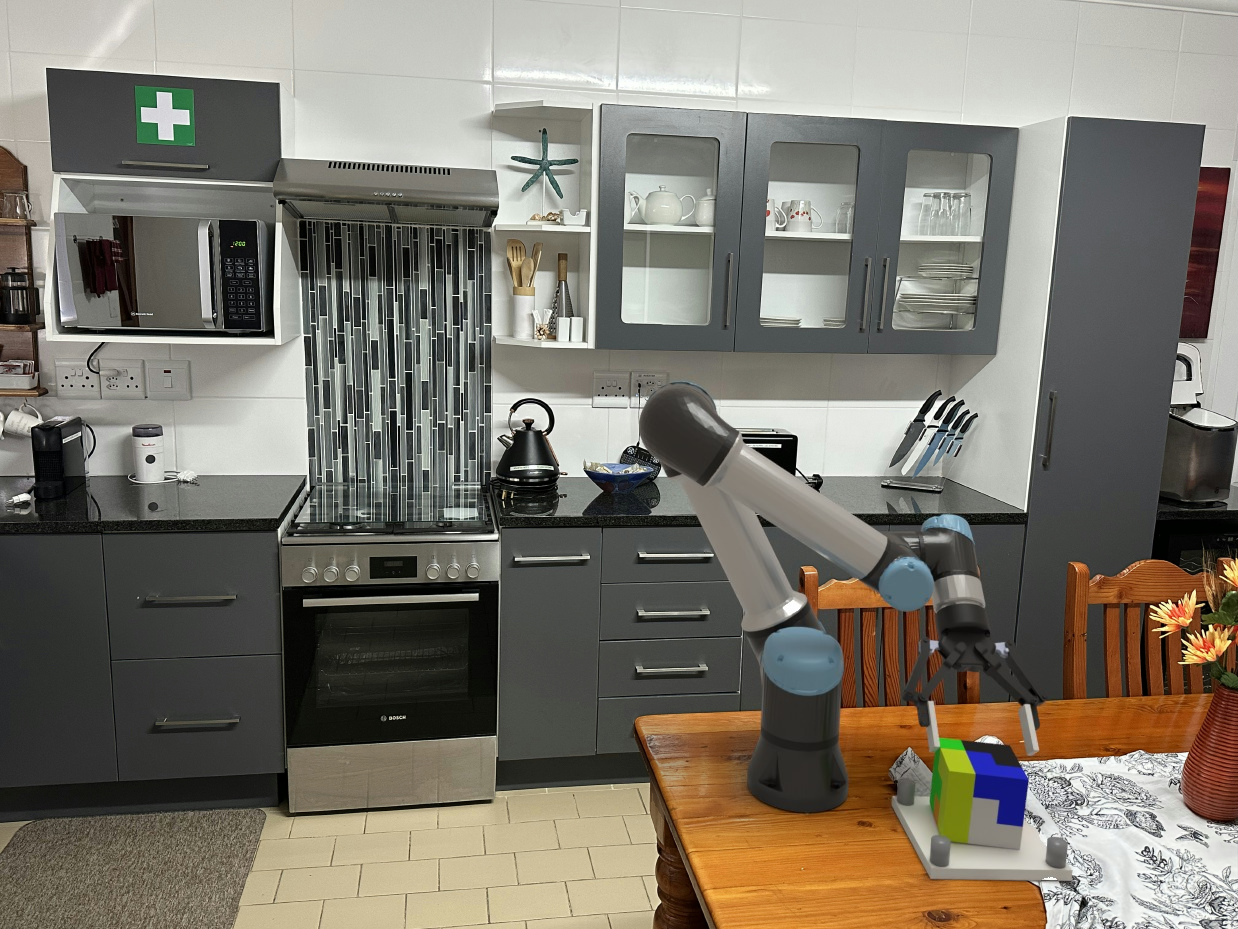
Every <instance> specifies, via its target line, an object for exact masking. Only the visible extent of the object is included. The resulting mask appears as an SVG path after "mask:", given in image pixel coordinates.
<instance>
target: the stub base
mask: <svg viewBox="0 0 1238 929" xmlns="http://www.w3.org/2000/svg"><path fill="white" fill-rule="evenodd" d="M897 780H898V781H897V792H896V793H897V794H896V795H892V797H891V807H892V809H893V810H894V813H895V815H896V817H897V819H898V820H899V822H900V824H901V827H903V830H904V832H905V833H906V835H907V837H908V838H909V839H908V840H910V843H911V845H912V847H913V848H914V850H915V852H916V854H917V856H918V858H919V860H920V861H921V864H922V865H923V867H924V869H925V871H926V872H927V875H928V876H929V878H930V879H931V880H969V881H971V880H973V881H974V880H975V881H976V880H978V881H982V880H986V881H990V880H991V881H1039V882H1040V881H1041V880H1042V879H1044V878H1048V877H1049V878H1050V877H1053V878H1056V879H1057V880H1058V882H1059V881H1060V882H1063V881H1064V882H1072V879H1073V869H1072V867H1070V865H1069V864H1068V863H1067V856H1068V846H1069V843H1068V842H1067V840H1065V839H1064V838H1061V837H1058V836H1049V837H1047V847H1046V845H1044V843H1043V842H1042V841H1041V840H1040V837H1039V832H1038V829H1036V828H1035V827H1032V826H1031V825H1030V824H1028V823H1027V822H1026V821H1025V820H1024V822H1023V830H1022V838H1021V846H1020V850H1016V849H1008V848H1000V847H992V846H984V845H976V844H968V843H960V842H951V841H950V839H948V838H947V837H945V836H941V835H940V834H939V830H938V827H937V824H936V821H935V818H934V815H933V812H932V809H931V806H930V802H929V801H930V796H922V795H921V796H918V795H917V796H916V795H915V794H916V782H915V781H914V780H913V779H910V778H907V777H905V778H904V777H902V778H899V779H897Z"/></svg>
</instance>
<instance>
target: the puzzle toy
mask: <svg viewBox="0 0 1238 929" xmlns="http://www.w3.org/2000/svg"><path fill="white" fill-rule="evenodd" d="M939 742H940V747H939V749H938V750H937V751H936V752H934V757H933V766H932V774H931V775H932V777H931V785H930V794H929V797H930V801H929V802H930V806H931V809H932V812H933V815H934V818H935V821H936V824H937V827H938V830H939V834H940V835H941V836H945V837H947V838H948V839H950V841H951V842H960V843H968V844H976V845H984V846H992V847H1000V848H1008V849H1016V850H1020V846H1021V838H1022V830H1023V822H1024V814H1025V811H1026V806H1027V799H1028V798H1027V796H1028V789H1029V781H1030V780H1029V778H1028V776H1027V774H1026V772H1025V770H1024V768H1023V766H1022V765H1021V763H1020V761H1019V759H1018V757H1017V755H1016V754H1015V752H1014V750H1013V748H1012V746H1011V745H1009V744H1001V743H991V742H982V741H973V740H965V739H964V740H963V739H956V738H948V737H947V738H945V737H939Z"/></svg>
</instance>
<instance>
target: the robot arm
mask: <svg viewBox="0 0 1238 929" xmlns="http://www.w3.org/2000/svg"><path fill="white" fill-rule="evenodd" d="M644 404H645V405H644V406H643V408H642V410H641V412H640V415H639V419H638V431H639V437H640V438H641V441H642V443H643V446H644V448H645V449H646V451H647V452H649V454H650V455H651V456H652V457H653V458H654V459H656V460H657V461H658V462H659V464H660V465H661V467H662V469H663V471H664V474H665V476H666V478H667V479H668V480H671V481H673V482H677V483H679V484H681V487H682V488H683V490H684V492H685V494H686V496H687V498H688V500H689V503H690V504H691V507H692V508H693V511H694V513H695V515H696V517H697V519H698V521H699V523H700V525H701V527H702V529H703V531H704V532H705V535H706V536H707V539H708V541H709V543H710V546H711V547H712V549H713V551H714V553H715V555H716V557H717V559H718V561H719V563H720V565H721V567H722V569H723V571H724V573H725V576H726V577H727V579H728V581H729V583H730V586H731V588H732V589H733V592H734V594H735V595H736V598H737V600H738V601H739V603H740V606H741V607H742V610H743V612H744V615H743V618H742V620H741V624H740V626H741V629H742V631H743V633H744V634H745V637H746V639H747V640H748V642H749V645H750V647H751V649H752V651H753V653H754V656H755V657H756V660H757V661H758V664H759V673H760V679H761V680H760V681H761V706H760V707H761V708H760V710H761V711H760V713H761V714H760V731H759V732H760V734H759V738H758V740H757V743H756V745H755V748H754V750H753V753H752V755H751V758H750V761H749V763H748V765H747V772H746V774H747V776H746V785H747V788H748V790H749V791H750V793H751V795H753V796H755V798H757V800H760V801H761V802H763V803H765V804H767V805H769V806H772V807H774V808H777V809H781V810H786V811H789V812H790V811H791V812H797V813H818V812H825V811H828V810H832V809H835V808H837V807H838V806H840V805H842V804H843V803H844V802H845V801H846V799H847V798H848V796H849V775H848V771H847V768H846V767H847V766H846V763H845V761H844V757H843V754H842V751H841V750H842V749H841V748H840V743H839V742H840V741H839V740H840V739H839V738H840V726H841V724H840V723H841V722H840V720H841V706H842V705H841V702H842V687H843V675H844V670H845V663H844V662H845V661H844V656H843V655H844V654H843V649H842V646H841V645H840V643H839V642H838V641H837V640H836V639H835V638H834V637H833V636H832V635H830V634H827V631H826V629H825V628H824V626H823V624H822V622H821V621H820V620H819V619H818V618H817V616H816V614H815V612H814V609H813V608H812V605H811V604H810V602H809V599H808V598H807V595H806V594H804V593H802V592H798V591H797V590H793V588H792V586H791V583H790V582H789V580H788V577H787V576H786V574H785V572H784V569H783V568H782V565H781V562H780V561H779V559H778V557H777V556H776V553H775V551H774V549H773V547H772V545H771V543H770V541H769V539H768V537H767V535H766V533H765V531H764V530H765V529H764V528H763V527H762V524H761V523H760V520H759V518H758V516H757V515H759V516H760V517H762V518H763V519H764V520H766V521H768V522H769V523H771V524H773V525H774V526H775V527H777V528H778V529H781V530H782V531H783V532H784V533H786V534H788V535H790V537H792V538H794V539H796V540H797V541H799V542H800V543H802V544H804V545H805V546H807V547H808V548H809V549H811V550H813V551H814V552H816V553H817V554H819V555H820V556H822V557H824V558H825V559H827V560H828V561H829V562H831V563H832V564H834V565H836V566H837V567H839V568H840V569H842V570H843V571H845V573H847V574H849V575H850V576H851V578H853V579H856V580H858V581H860V582H861V583H862V584H864V585H865V586H867V587H868V588H870V589H871V590H873V591H874V592H876V593H878V594H879V596H880V597H881V599H882V600H883V601H884V602H885V603H886V604H888V605H889V607H892V608H893V609H896V610H898V611H901V612H913V611H917V610H919V609H921V608H923V607H924V606H925V605H927V603H928V602H930V599H931V600H932V606H933V611H934V613H935V614H934V621H935V626H936V627H935V628H936V634H937V638H938V640H931V639H930V638H929V637H928V636H923V637H921V639H920V641H919V642H918V643H917V657H916V660H915V663H914V665H913V666H912V667H913V668H912V670H911V673H910V675H909V677H908V680H907V683H906V685H905V687H904V689H903V693H902V695H901V699H902V700H903V701H905V702H910V703H913V706H914V707H915V708H916V712H917V713H916V714H917V718H918V719H917V720H918V724H919V726H920V727H921V728H925V729H926V736H927V743H928V750H929V753H935V752H936V751H937V750H938V749H939V747H940V742H939V738H940V737H939V728H938V723H937V717H936V716H937V715H936V709H935V703H934V702H935V701H934V700H928V699H929V697H930V696H931V695H932V694H933V692H934V691H935V690H936V688H937V686H938V685H939V684H940V683H941V682H942V680H943V679H944V678H945V676H946V675H947V674H948V672H949V671H950V670H951V668H952V669H954V670H955V671H957V672H958V673H959V672H960V673H961V672H962V673H964V672H971V673H979V672H981V671H982V672H983V673H984V674H985V675H986V676H988V677H991V678H992V680H994V682H996V683H997V684H998V685H999V686H1000V687H1001V688H1002V689H1003V690H1004V691H1005V692H1006V693H1007V694H1008V695H1009V696H1011V698H1013V700H1015V701H1016V703H1018V704H1019V705H1020V707H1019V709H1018V710H1017V712H1018V717H1019V723H1020V728H1021V732H1022V736H1023V737H1022V738H1023V742H1024V743H1023V744H1024V748H1025V753H1026V756H1031V757H1033V755H1035V754H1036V753H1038V752H1039V751H1040V748H1039V743H1038V737H1037V733H1036V732H1037V731H1038V730H1039V729H1040V727H1041V722H1040V717H1039V713H1038V707H1040V706H1042V705H1043V704H1045V703H1046V702H1047V700H1049V694H1048V692H1047V691H1046V690H1045V688H1043V686H1042V685H1041V683H1040V682H1039V681H1038V679H1037V678H1036V676H1035V675H1034V674H1033V672H1032V671H1031V669H1030V668H1029V667H1028V665H1027V664H1026V662H1025V661H1024V660H1023V658H1022V657H1021V655H1019V653H1018V650H1017V647H1016V643H1015V640H1014V639H1013V640H1012V638H1011V639H1007V640H1006V641H1005V642H1004V641H1003V642H995V641H994V640H993V639H992V637H991V636H992V635H991V627H990V623H989V619H988V617H989V616H988V613H987V610H986V601H985V597H984V592H983V585H982V581H981V577H980V573H979V567H978V558H977V554H976V544H975V541H974V538H973V534H972V530H971V527H970V524H969V523H968V521H967V519H965V518H963V517H961V516H959V515H956V514H946V513H945V514H940V515H939V516H932V517H930V518H928V519H926V520H925V521H924V522H923V523H922V525H921V530H918V531H917V530H916V531H879V530H876V529H875V528H874V527H872V526H871V525H869V524H868V523H866V522H865V521H863V520H862V519H860V518H859V517H857V516H855V515H853V514H852V513H851V512H850V511H848V510H846V509H845V508H843V507H842V506H840V505H838V504H837V503H835V502H834V501H833V500H831V499H830V498H828V497H826V496H825V495H824V494H822V493H820V492H819V491H817V490H816V489H815V488H813V487H811V486H810V485H808V484H807V483H805V482H804V481H802V480H801V479H800V478H798V477H796V476H795V475H793V474H791V472H789V471H787V470H786V469H784V468H783V467H781V466H779V465H778V464H777V463H775V462H774V461H772V460H771V459H769V458H767V457H766V456H764V455H763V454H761V453H760V452H759V451H756V449H754V448H752V447H751V446H749V445H747V444H746V443H745V442H744V441H743V440H744V438H743V436H742V432H741V431H740V430H738V429H736V428H735V427H734V426H732V425H730V424H729V423H728V422H726V420H724V419H723V418H722V417H721V416H720V415H719V414H718V411H717V406H716V402H715V401H714V399H713V396H711V395H710V393H708V391H707V389H706V390H705V389H704V388H703V387H702V386H700V385H698V384H696V383H694V382H690V381H686V380H685V381H684V380H677V381H671V382H669V383H666V384H663V385H661V386H660V387H658V388H656V389H655V390H653V392H651V394H650V396H649V397H648V398H647V400H646V402H645V403H644ZM935 650H936V651H937V653H938V654H939V655H940V656H941V657H942V658H943V659H944V662H942V664H941V665H940V667H939V668H938V670H937V671H936V672H935V673H934V675H933V676H932V677H931V678H930V679H929V681H928V682H927V684H926V685H925V686H924V688H923V689H922V690H921V691H920V692H919V691H917V687H918V685H919V683H920V680H921V678H922V675H923V672H924V670H925V667H926V665H927V662H928V660H929V658H930V656H932V655H933V653H934V652H935ZM995 653H997V654H998V656H1000V658H1003V660H1004V662H1005V663H1006V666H1008V668H1009V669H1010V671H1011V672H1012V674H1013V675H1014V676H1013V675H1012V674H1011V673H1010V672H1009V671H1008V670H1007V669H1006V668H1005V667H1003V666H1002V663H1001V662H1000V660H998V659H997V658H996V657H995V656H994V654H995Z"/></svg>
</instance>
